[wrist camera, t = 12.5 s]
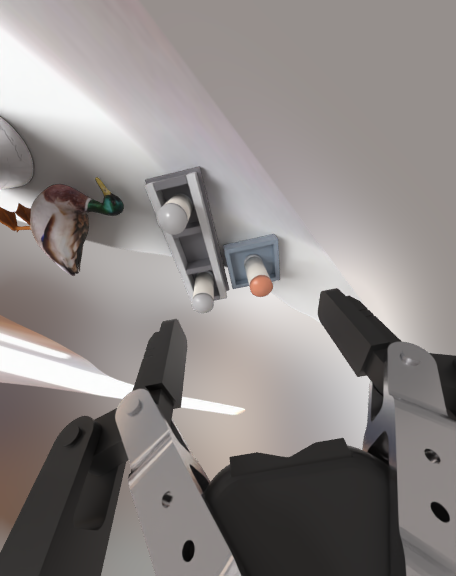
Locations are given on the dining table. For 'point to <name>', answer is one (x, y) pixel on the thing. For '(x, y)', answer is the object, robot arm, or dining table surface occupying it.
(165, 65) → the dining table surface
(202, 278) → the fuse
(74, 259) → the decorative duck model
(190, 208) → the white domed part
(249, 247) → the tray
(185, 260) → the grey compartment rack
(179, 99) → the dining table surface
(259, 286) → the cylinder
